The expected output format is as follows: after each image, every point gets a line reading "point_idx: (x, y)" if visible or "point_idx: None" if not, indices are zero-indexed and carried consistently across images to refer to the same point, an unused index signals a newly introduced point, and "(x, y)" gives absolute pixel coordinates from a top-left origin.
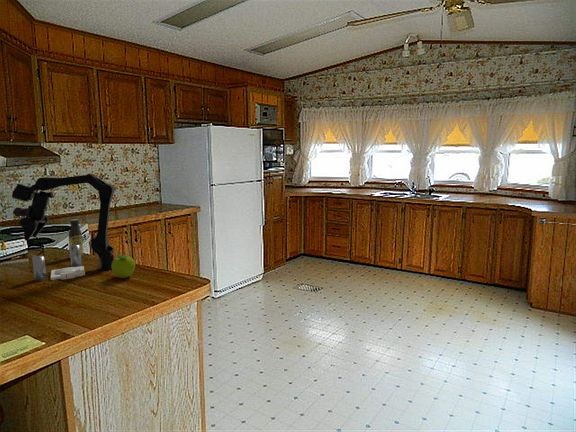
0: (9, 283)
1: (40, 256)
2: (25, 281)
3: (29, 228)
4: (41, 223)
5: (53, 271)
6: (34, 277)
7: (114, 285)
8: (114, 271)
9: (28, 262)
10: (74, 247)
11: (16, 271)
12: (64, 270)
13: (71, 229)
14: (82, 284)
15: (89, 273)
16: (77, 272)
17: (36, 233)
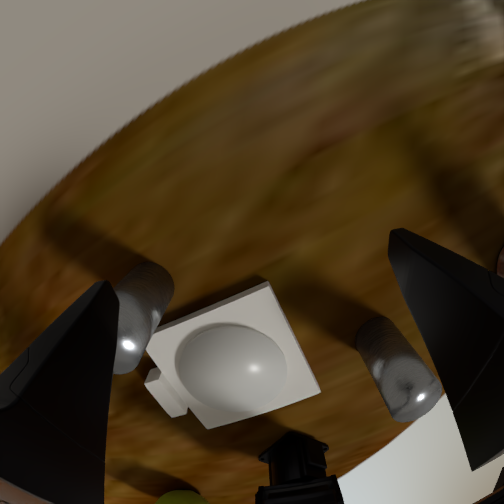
0: (102, 166)
1: (119, 354)
2: (126, 226)
3: (36, 457)
4: (492, 442)
5: (240, 308)
6: (128, 273)
7: (119, 482)
8: (156, 502)
9: (476, 65)
10: (389, 409)
11: (326, 66)
12: (227, 364)
13: None
14: (111, 433)
15: (234, 426)
16: (212, 408)
17: (408, 296)
